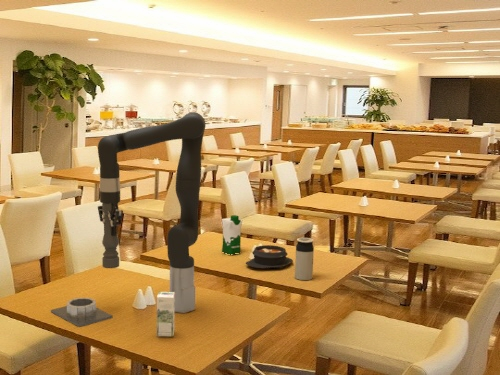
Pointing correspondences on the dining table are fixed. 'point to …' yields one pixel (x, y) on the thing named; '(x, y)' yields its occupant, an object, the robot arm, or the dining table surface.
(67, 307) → the steel collar
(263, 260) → the casserole
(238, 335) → the dining table surface
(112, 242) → the candle holder
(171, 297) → the syrup box
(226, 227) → the milk carton
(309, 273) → the travel mug
